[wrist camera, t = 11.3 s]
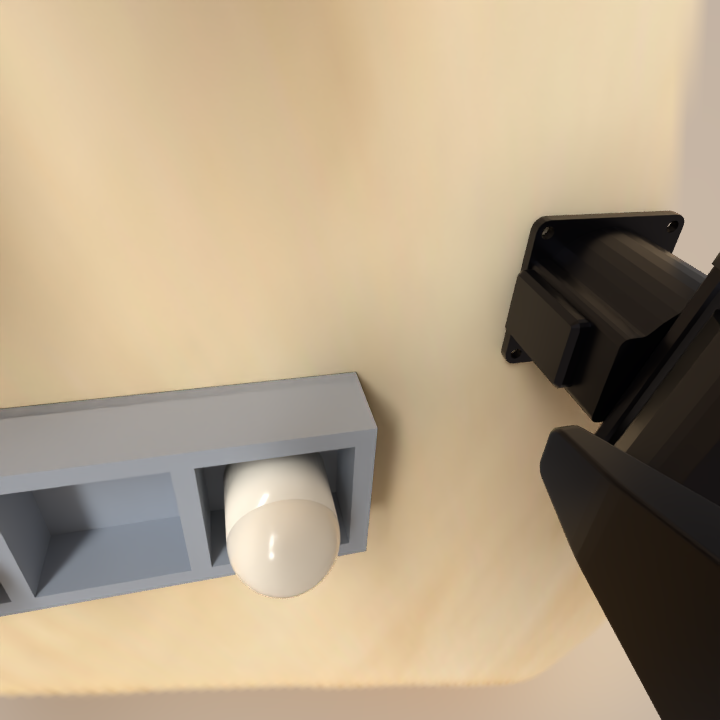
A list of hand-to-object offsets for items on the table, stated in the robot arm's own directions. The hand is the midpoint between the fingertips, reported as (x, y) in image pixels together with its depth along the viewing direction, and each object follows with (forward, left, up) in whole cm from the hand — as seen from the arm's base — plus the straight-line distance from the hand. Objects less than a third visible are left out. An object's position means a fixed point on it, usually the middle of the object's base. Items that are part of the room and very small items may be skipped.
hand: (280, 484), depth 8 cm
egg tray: (+6, +11, -12) cm, 17 cm away
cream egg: (-1, +11, -11) cm, 16 cm away
